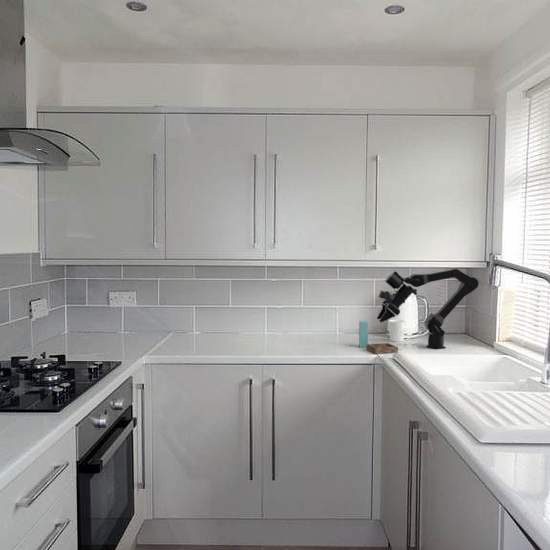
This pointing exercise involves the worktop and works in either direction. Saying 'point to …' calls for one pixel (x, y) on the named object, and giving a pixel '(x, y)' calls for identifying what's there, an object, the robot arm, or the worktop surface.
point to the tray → (381, 348)
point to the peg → (363, 334)
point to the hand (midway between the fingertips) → (378, 320)
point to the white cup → (396, 330)
